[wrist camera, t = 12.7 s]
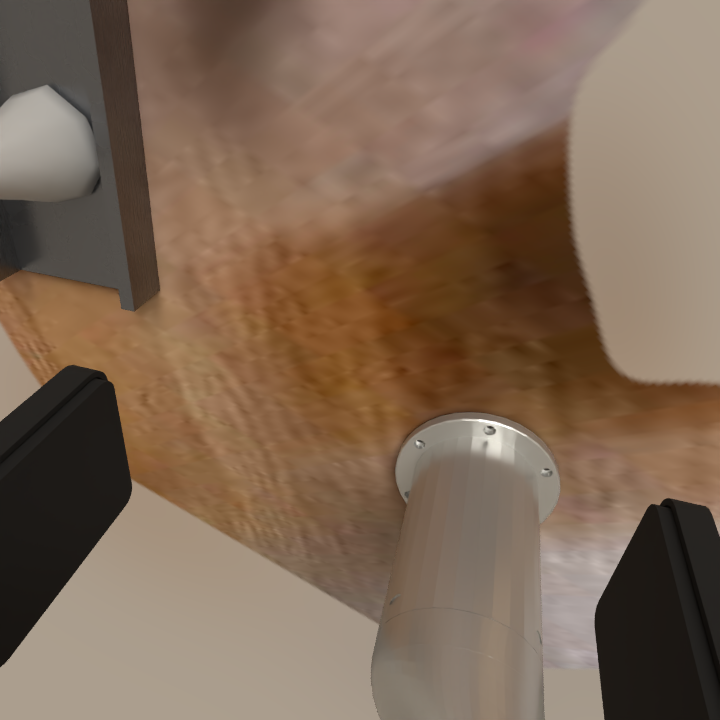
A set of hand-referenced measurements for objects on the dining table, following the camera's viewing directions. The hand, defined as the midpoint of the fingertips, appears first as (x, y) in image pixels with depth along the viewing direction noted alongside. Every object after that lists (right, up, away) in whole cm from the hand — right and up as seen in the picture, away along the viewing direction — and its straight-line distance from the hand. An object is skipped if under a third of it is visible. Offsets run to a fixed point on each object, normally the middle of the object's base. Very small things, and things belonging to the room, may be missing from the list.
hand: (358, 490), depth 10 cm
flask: (-20, +17, +29) cm, 39 cm away
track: (-20, +17, +29) cm, 39 cm away
